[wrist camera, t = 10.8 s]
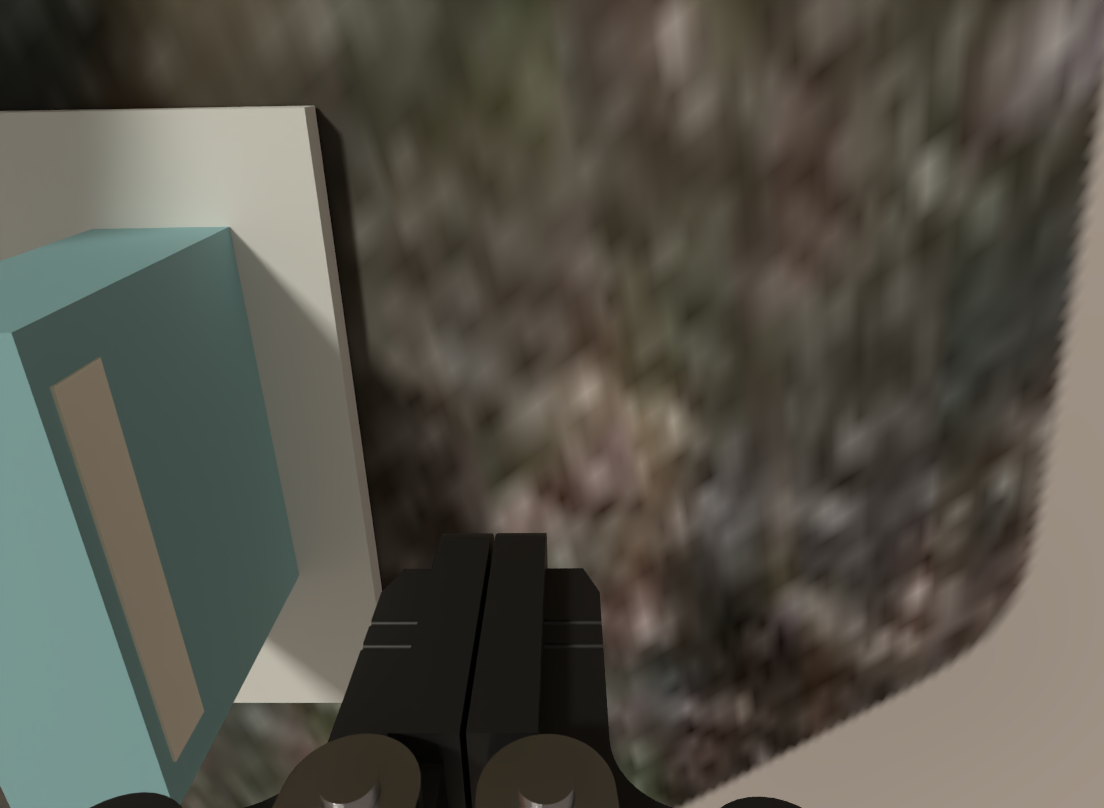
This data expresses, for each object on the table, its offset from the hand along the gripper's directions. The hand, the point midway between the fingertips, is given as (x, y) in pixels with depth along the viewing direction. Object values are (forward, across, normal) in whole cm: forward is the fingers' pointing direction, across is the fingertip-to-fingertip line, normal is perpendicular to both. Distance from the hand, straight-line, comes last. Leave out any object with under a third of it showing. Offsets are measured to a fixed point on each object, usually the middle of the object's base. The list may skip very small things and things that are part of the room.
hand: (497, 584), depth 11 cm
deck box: (+5, +6, 0) cm, 8 cm away
